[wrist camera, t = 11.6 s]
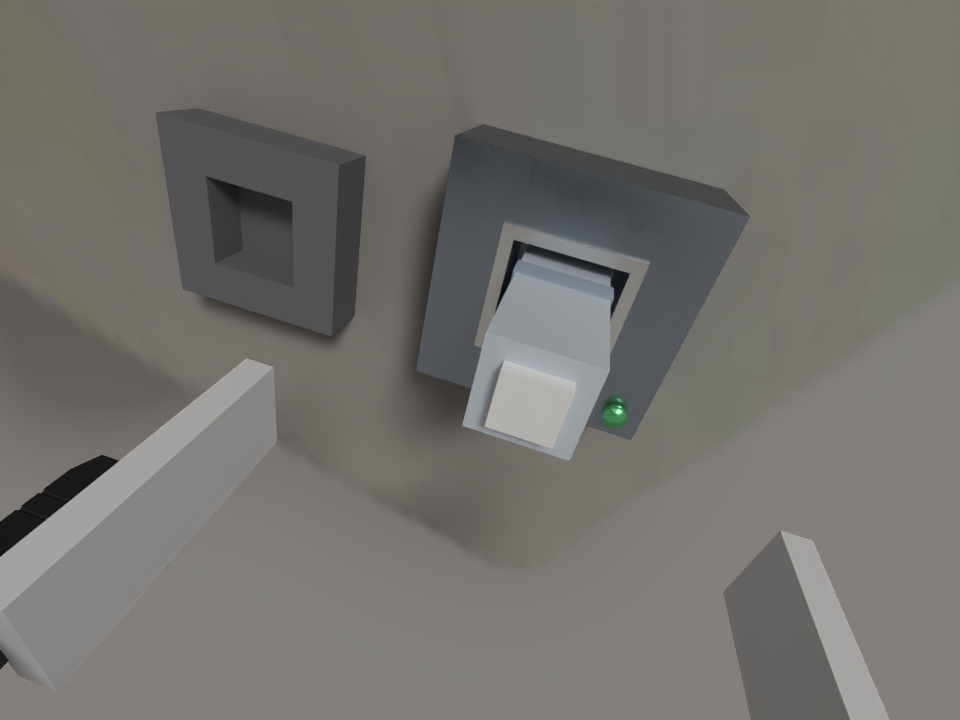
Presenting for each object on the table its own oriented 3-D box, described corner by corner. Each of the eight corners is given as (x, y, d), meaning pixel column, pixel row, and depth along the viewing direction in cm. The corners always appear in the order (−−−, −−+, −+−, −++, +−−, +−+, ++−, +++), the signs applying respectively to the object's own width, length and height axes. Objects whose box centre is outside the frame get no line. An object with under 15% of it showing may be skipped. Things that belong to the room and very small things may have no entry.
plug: (515, 296, 27) (454, 437, 17) (535, 226, 25) (479, 337, 14) (586, 318, 27) (570, 475, 16) (613, 248, 24) (614, 379, 14)
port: (443, 329, 30) (411, 376, 25) (483, 124, 23) (450, 136, 19) (628, 387, 29) (631, 447, 24) (724, 189, 22) (753, 220, 18)
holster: (216, 272, 32) (182, 289, 29) (198, 108, 26) (155, 112, 24) (354, 315, 31) (331, 336, 29) (365, 155, 26) (339, 164, 23)
